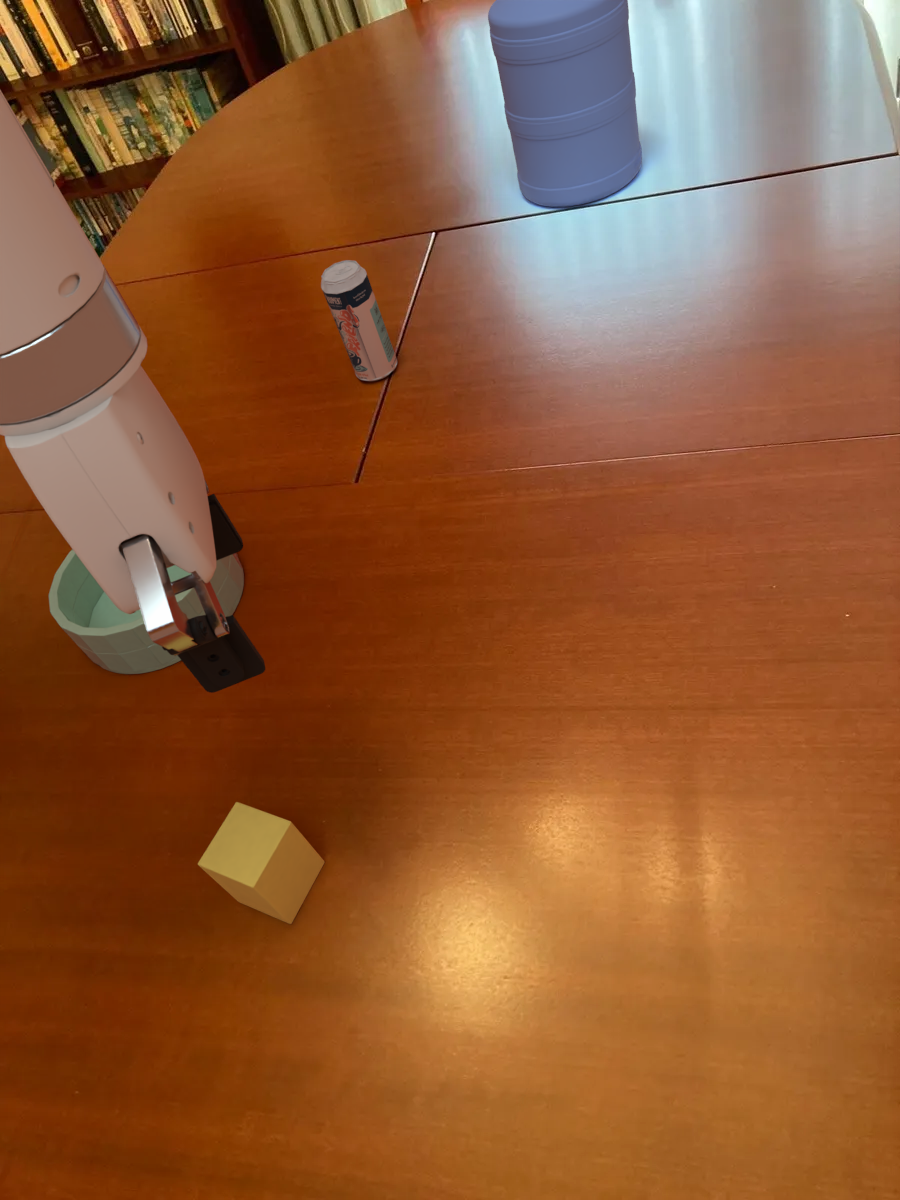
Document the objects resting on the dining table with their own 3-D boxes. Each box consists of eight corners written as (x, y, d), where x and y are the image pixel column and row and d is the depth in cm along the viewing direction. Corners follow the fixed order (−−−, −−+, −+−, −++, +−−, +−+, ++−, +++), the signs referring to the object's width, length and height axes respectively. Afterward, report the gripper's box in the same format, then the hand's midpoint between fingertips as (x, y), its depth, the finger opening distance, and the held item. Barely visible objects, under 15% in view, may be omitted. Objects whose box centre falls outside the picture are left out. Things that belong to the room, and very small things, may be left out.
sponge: (237, 902, 59) (196, 864, 54) (273, 841, 61) (235, 800, 57) (291, 925, 57) (252, 887, 52) (325, 861, 59) (291, 821, 55)
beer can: (351, 370, 97) (311, 271, 89) (389, 352, 98) (354, 252, 89) (365, 390, 94) (325, 290, 85) (405, 371, 95) (369, 269, 86)
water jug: (629, 204, 106) (600, -76, 85) (506, 215, 112) (451, -44, 91) (653, 142, 114) (632, -124, 94) (537, 156, 120) (494, -92, 100)
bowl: (67, 691, 76) (29, 653, 72) (102, 562, 86) (70, 523, 82) (236, 652, 74) (206, 610, 70) (250, 525, 84) (225, 483, 80)
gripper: (-23, 290, 42) (156, 539, 54) (-71, 511, 30) (173, 766, 42) (125, 231, 42) (270, 494, 54) (136, 429, 30) (319, 707, 42)
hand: (228, 613), depth 48 cm, fingers open, 9 cm apart
